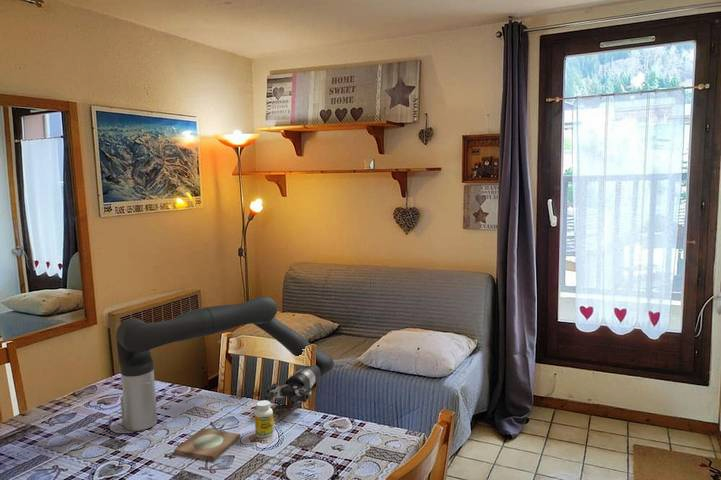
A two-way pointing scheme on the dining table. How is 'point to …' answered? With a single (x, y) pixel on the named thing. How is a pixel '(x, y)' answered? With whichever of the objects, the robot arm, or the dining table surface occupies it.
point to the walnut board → (207, 444)
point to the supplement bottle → (264, 419)
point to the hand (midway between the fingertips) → (278, 401)
